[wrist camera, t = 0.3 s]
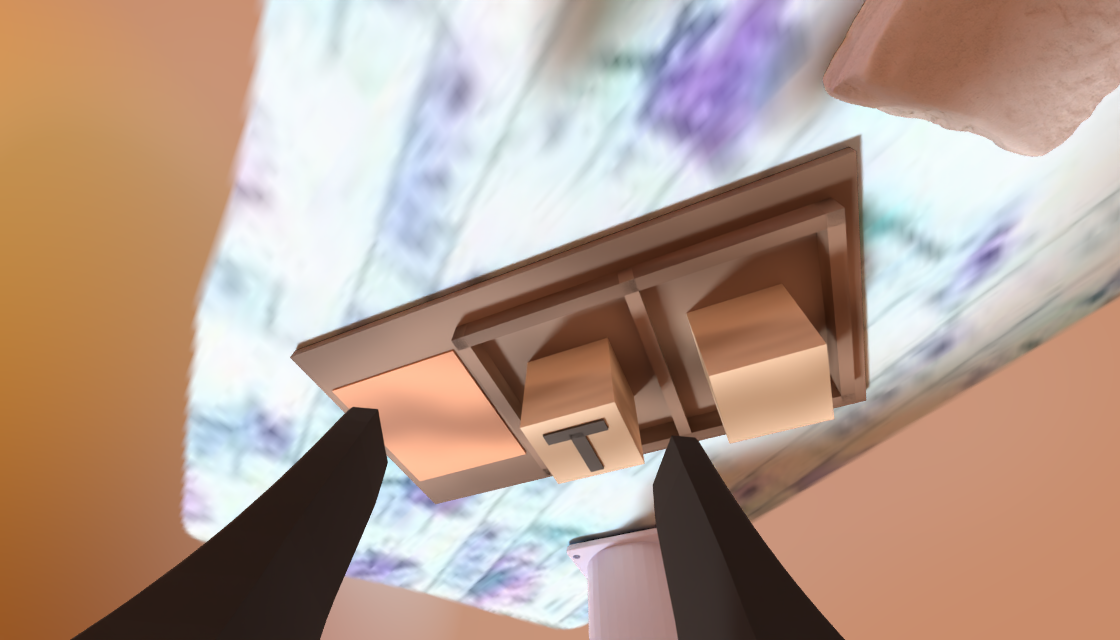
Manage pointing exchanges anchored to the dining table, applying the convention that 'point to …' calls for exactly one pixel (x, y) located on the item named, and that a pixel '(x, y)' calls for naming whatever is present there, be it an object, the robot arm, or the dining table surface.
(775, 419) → the blank cube
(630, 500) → the dining table surface
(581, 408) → the letter cube
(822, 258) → the organiser
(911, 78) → the tan faceted block
